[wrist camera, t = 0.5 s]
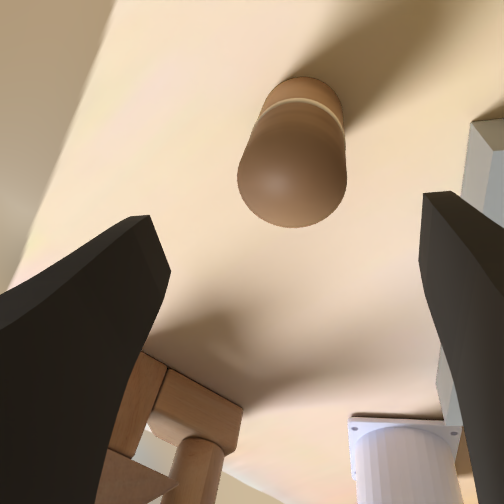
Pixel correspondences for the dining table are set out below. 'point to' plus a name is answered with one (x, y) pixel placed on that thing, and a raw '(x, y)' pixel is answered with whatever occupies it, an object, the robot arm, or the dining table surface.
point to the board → (491, 205)
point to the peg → (295, 155)
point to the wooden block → (168, 438)
